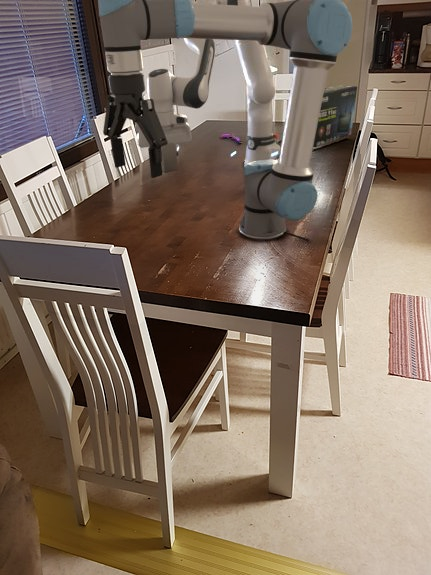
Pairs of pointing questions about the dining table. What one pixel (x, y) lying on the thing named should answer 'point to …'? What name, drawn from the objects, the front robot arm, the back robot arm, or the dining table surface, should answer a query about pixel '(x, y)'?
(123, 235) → the dining table surface
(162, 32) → the front robot arm
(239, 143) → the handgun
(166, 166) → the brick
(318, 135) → the router box
